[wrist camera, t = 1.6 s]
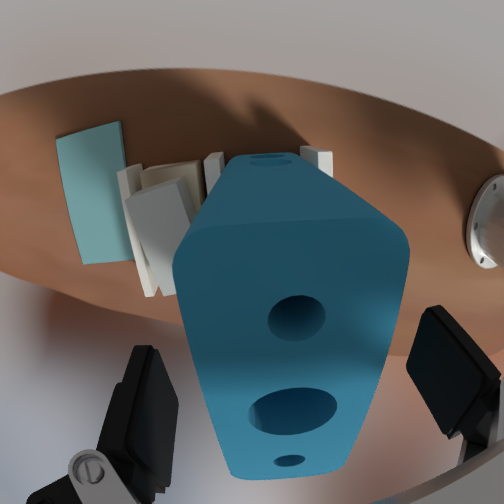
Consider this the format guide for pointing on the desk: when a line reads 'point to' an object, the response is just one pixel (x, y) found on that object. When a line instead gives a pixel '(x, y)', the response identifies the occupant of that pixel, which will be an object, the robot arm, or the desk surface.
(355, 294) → the block
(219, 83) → the desk surface
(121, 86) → the desk surface
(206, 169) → the rack
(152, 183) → the block
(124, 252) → the mat
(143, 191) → the upper offcut
